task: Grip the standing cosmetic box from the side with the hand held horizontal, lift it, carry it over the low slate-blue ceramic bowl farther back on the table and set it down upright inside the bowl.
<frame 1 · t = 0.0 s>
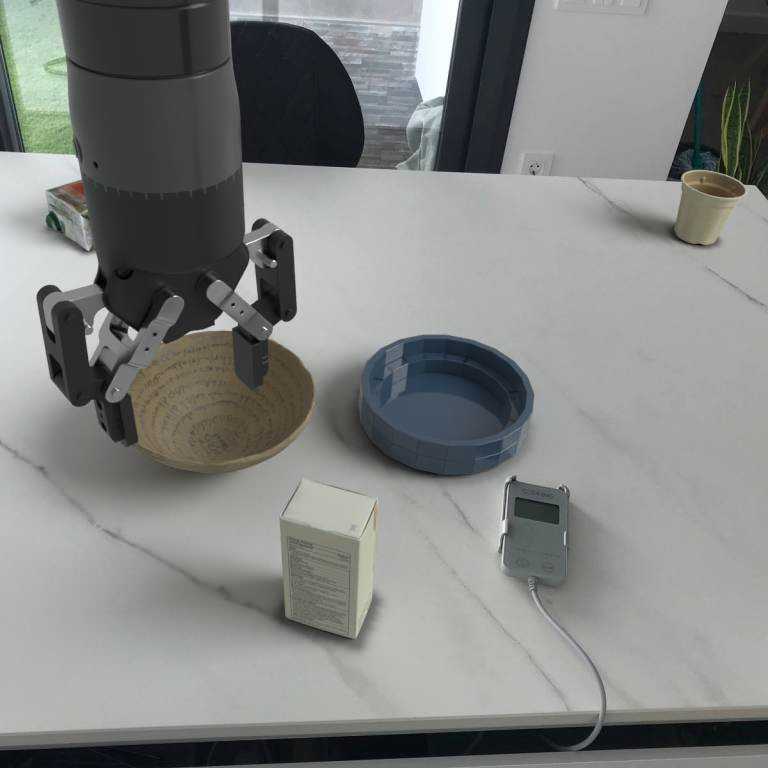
hand: (190, 408, 47), 22 cm above the table, tool pointing down, fingers open, 8 cm apart
flower pot: (694, 237, 119), on the table
juice carton: (128, 219, 110), on the table
cosmetic box: (327, 609, 63), on the table
serving bowl: (442, 418, 82), on the table
bowl: (219, 451, 76), on the table
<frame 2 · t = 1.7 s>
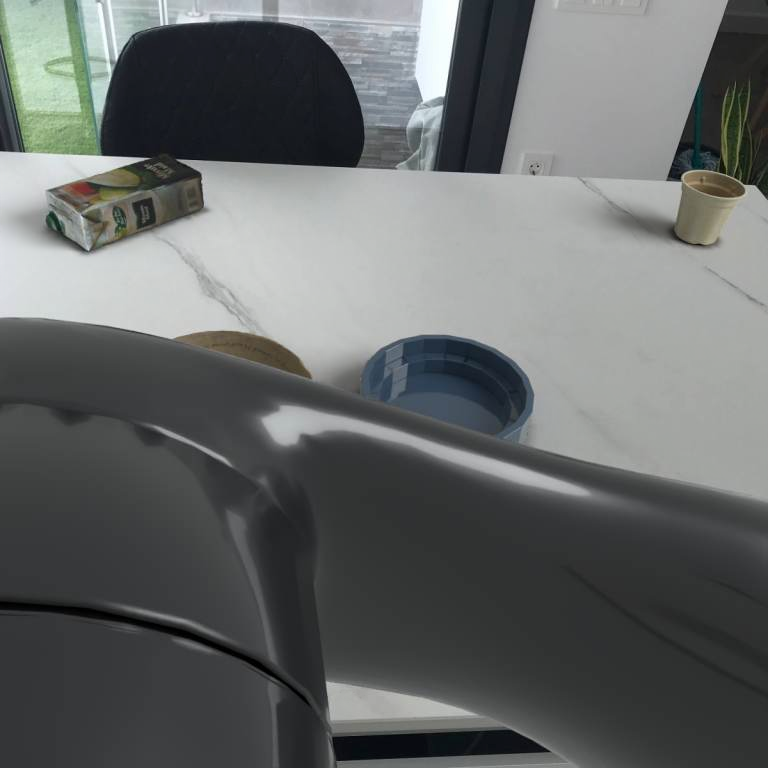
hand: (214, 535, 43), 20 cm above the table, tool horizontal, fingers open, 8 cm apart
nothing on the table moved.
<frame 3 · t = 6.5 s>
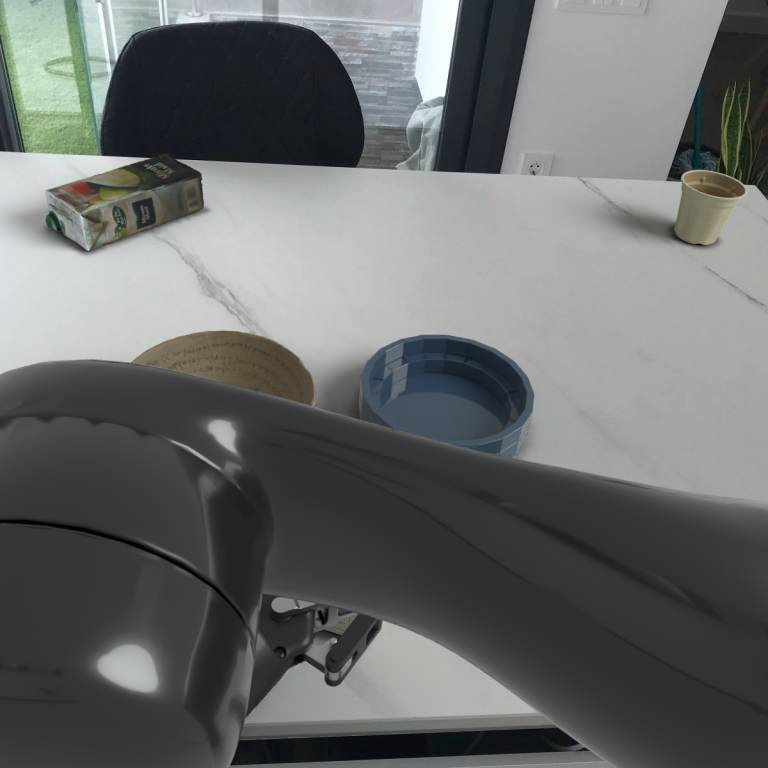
hand: (348, 528, 59), 8 cm above the table, tool horizontal, fingers closed on cosmetic box, 7 cm apart
cosmetic box: (327, 608, 63), on the table, touching gripper
everything else where it was.
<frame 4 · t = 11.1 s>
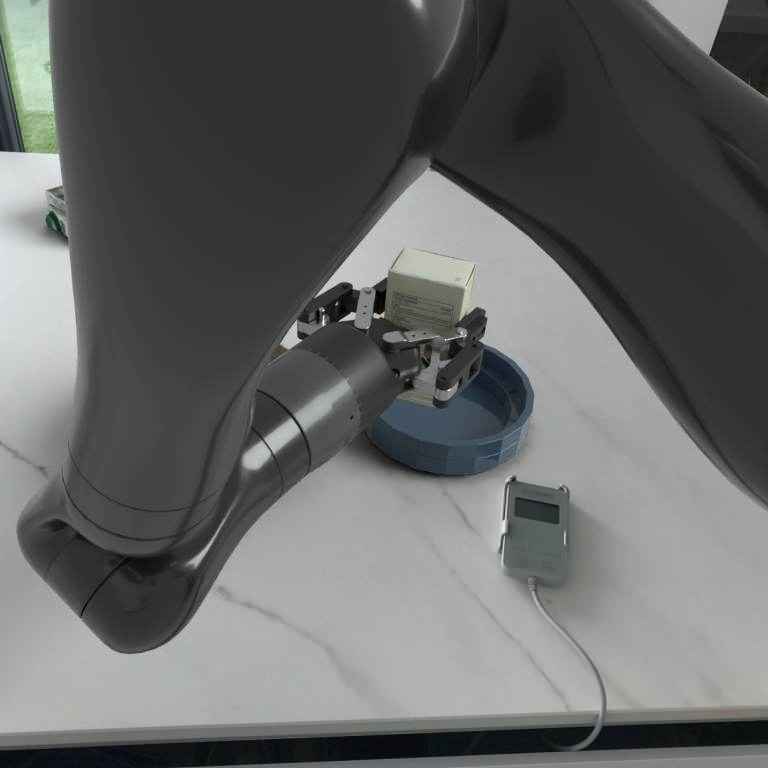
hand: (440, 300, 63), 20 cm above the table, tool horizontal, fingers closed on cosmetic box, 7 cm apart
cosmetic box: (415, 389, 67), point 11 cm above the table, touching gripper
everything else where it was.
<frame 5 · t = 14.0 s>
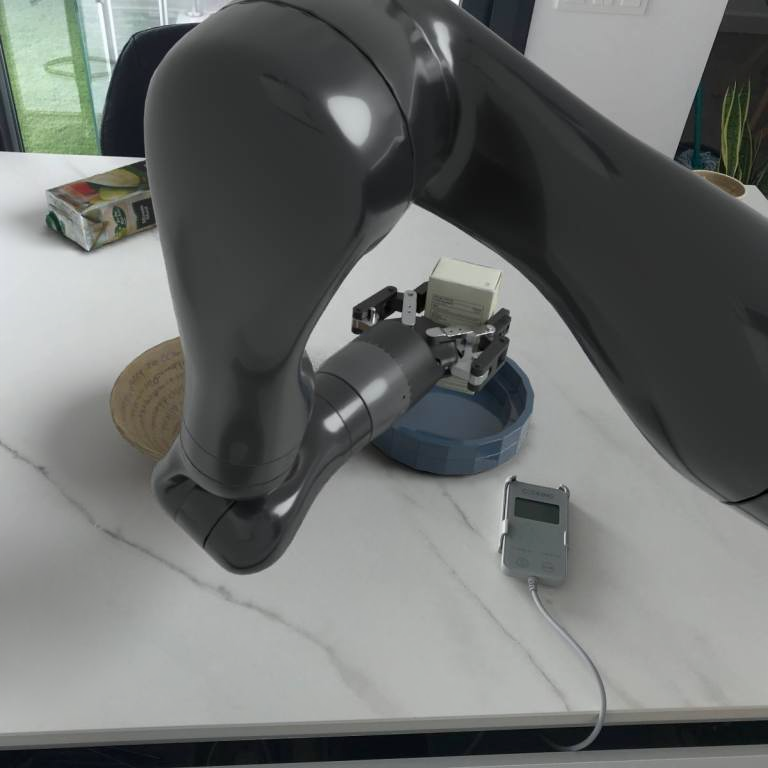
hand: (470, 302, 75), 14 cm above the table, tool horizontal, fingers closed on cosmetic box, 7 cm apart
cosmetic box: (446, 377, 78), point 5 cm above the table, touching gripper
everything else where it was.
when the fingers open (9 cm above the table, at t = 16.1 s): cosmetic box stays where it is, resting on serving bowl.
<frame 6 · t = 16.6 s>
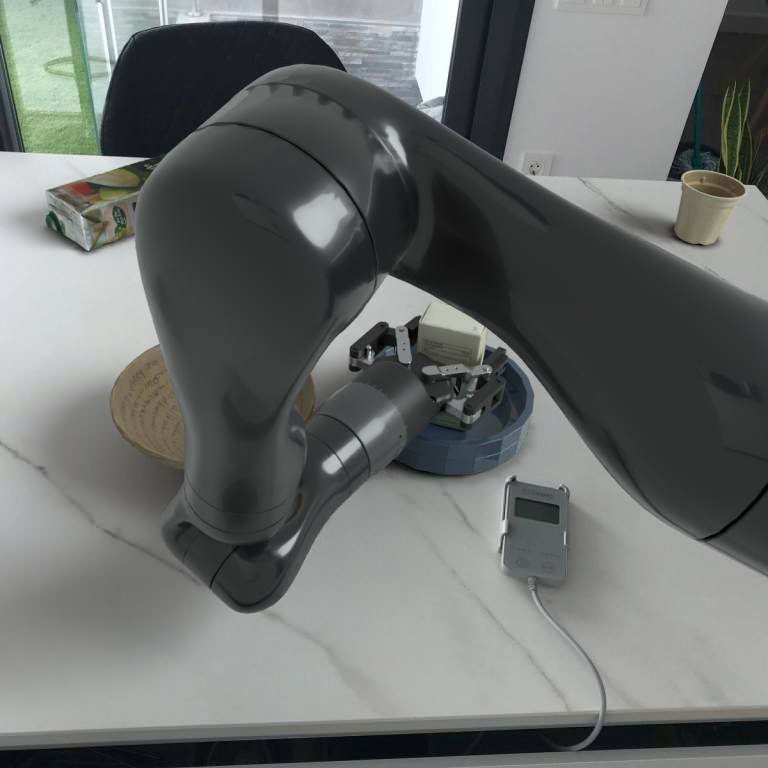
hand: (464, 337, 77), 9 cm above the table, tool horizontal, fingers open, 8 cm apart
cosmetic box: (441, 414, 82), resting on serving bowl
everything else where it was.
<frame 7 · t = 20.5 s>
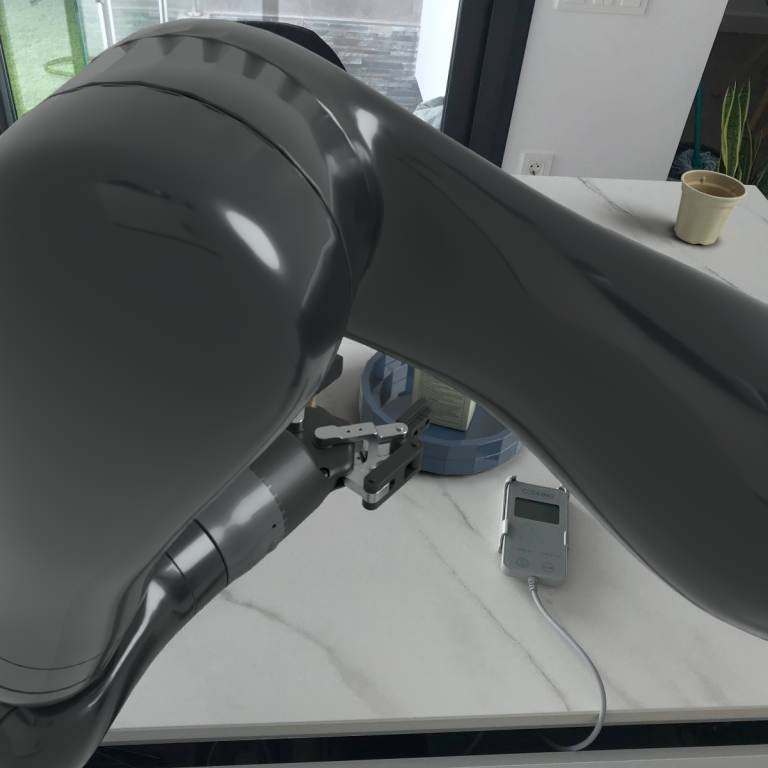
hand: (381, 384, 62), 15 cm above the table, tool horizontal, fingers open, 8 cm apart
nothing on the table moved.
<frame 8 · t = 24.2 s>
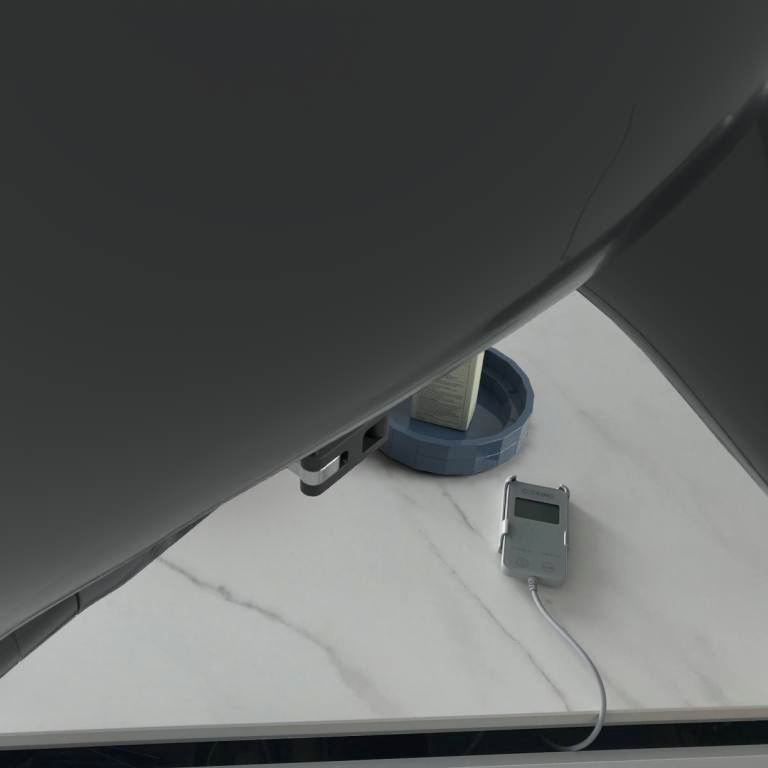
hand: (337, 325, 45), 28 cm above the table, tool horizontal, fingers open, 8 cm apart
nothing on the table moved.
at the end: cosmetic box inside the target area in the serving bowl (0.2 cm from its centre), point 0.4 cm above the serving bowl's base; cosmetic box tilted 0° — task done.
